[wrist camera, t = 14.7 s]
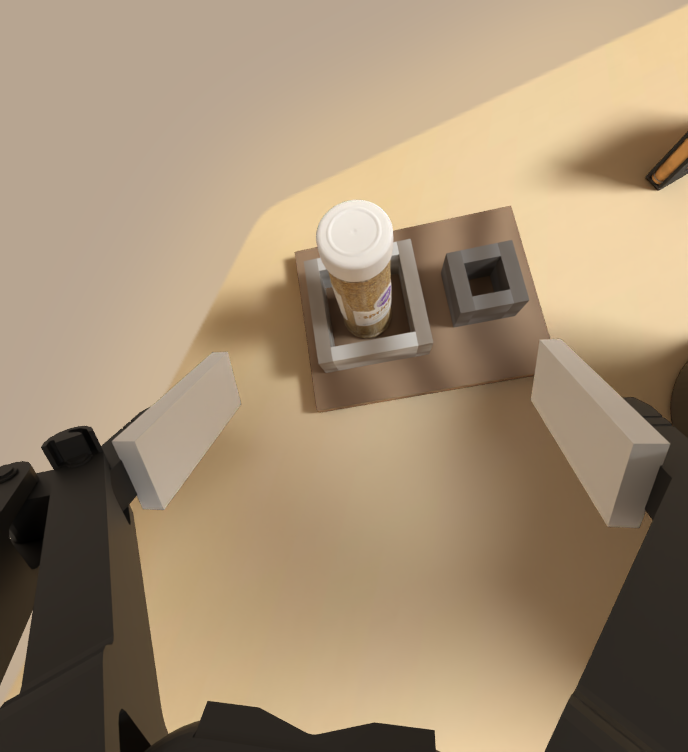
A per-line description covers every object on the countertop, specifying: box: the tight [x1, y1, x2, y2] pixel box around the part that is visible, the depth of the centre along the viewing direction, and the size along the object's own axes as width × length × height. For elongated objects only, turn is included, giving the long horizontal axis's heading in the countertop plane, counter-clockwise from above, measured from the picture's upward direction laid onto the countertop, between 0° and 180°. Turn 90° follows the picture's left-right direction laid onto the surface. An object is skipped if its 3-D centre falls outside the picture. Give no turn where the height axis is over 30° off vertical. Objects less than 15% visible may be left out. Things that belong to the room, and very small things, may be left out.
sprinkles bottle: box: [316, 200, 393, 338], centre depth 28 cm, size 5×5×14 cm
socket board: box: [295, 206, 550, 413], centre depth 33 cm, size 21×16×5 cm
